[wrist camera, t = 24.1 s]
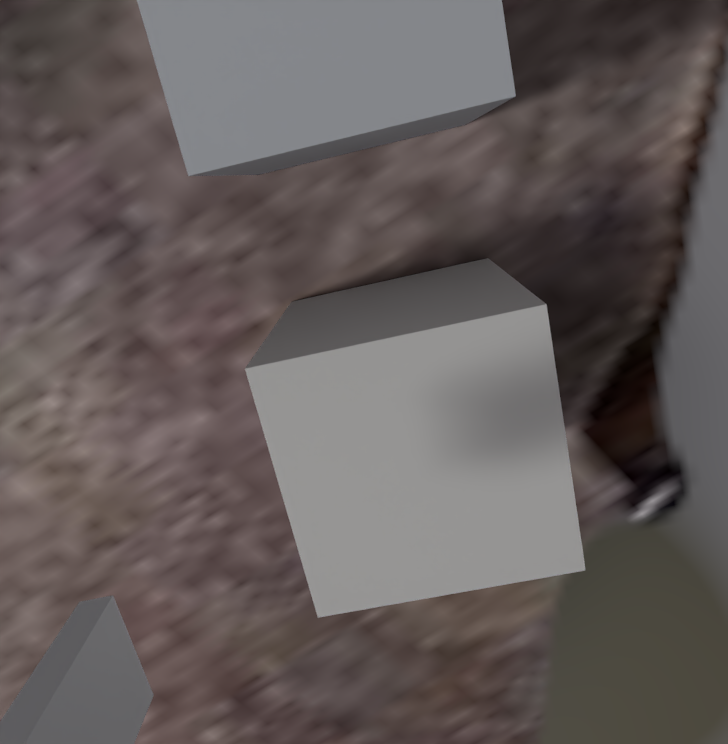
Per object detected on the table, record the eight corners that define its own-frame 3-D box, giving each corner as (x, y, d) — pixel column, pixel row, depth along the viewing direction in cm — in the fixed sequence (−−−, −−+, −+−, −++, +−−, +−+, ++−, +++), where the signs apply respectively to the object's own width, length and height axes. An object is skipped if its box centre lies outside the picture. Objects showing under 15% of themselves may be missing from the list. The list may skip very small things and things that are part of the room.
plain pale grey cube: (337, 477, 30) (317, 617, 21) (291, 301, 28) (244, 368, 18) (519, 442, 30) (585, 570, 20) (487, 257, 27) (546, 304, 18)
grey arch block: (257, 174, 26) (188, 176, 17) (196, -61, 24) (73, -216, 14) (465, 124, 26) (516, 96, 16) (423, -124, 23) (453, -332, 14)
